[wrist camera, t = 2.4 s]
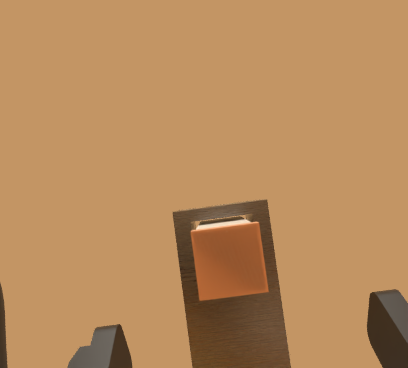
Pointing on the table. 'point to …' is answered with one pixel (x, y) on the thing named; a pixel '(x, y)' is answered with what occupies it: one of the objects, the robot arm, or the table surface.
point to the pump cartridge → (228, 258)
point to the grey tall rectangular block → (232, 301)
